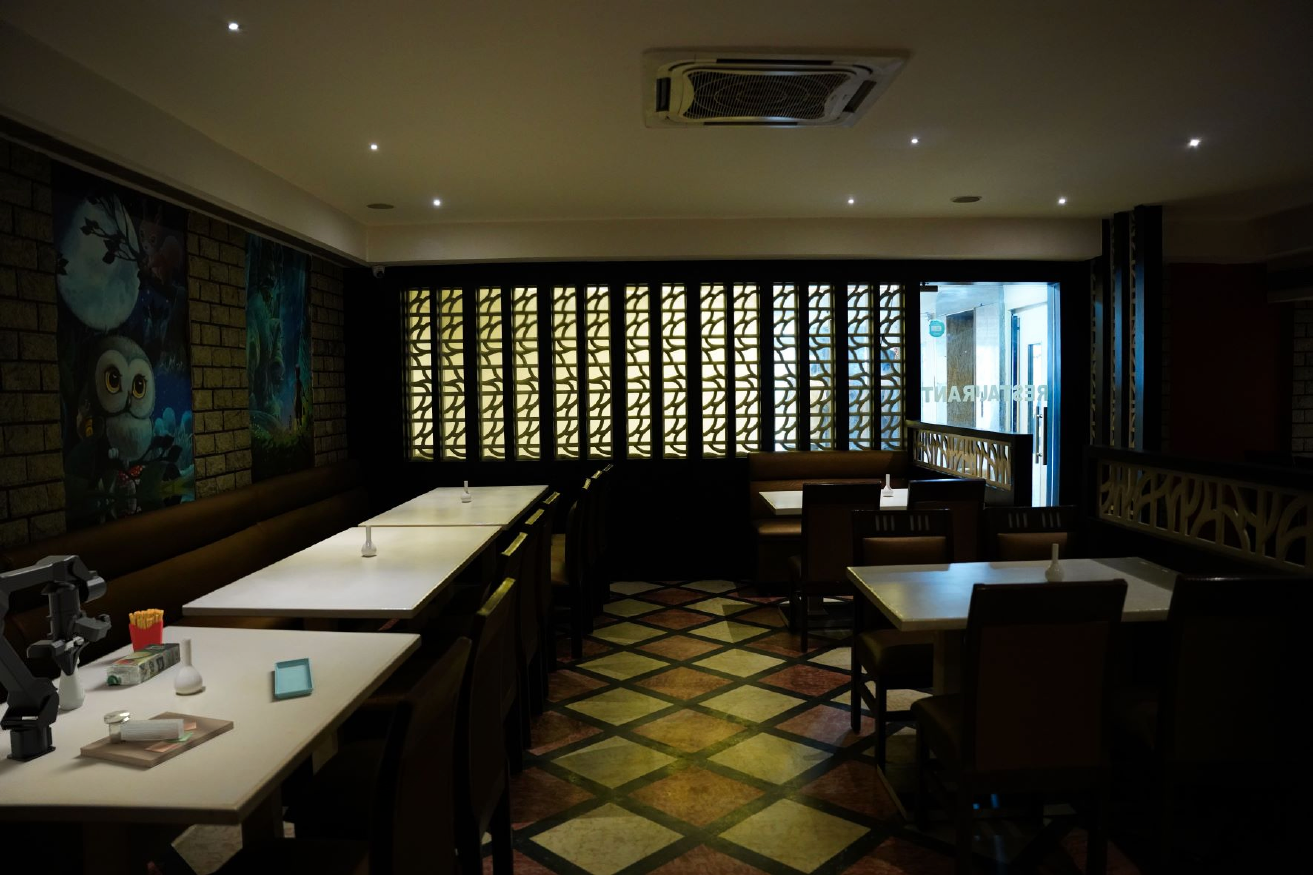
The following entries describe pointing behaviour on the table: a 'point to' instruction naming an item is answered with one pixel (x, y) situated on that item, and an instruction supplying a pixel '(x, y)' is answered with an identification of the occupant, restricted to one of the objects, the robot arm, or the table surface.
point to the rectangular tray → (293, 678)
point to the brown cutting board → (159, 742)
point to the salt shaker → (71, 690)
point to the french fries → (146, 628)
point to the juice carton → (143, 664)
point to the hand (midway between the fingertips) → (69, 675)
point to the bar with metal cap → (141, 727)
